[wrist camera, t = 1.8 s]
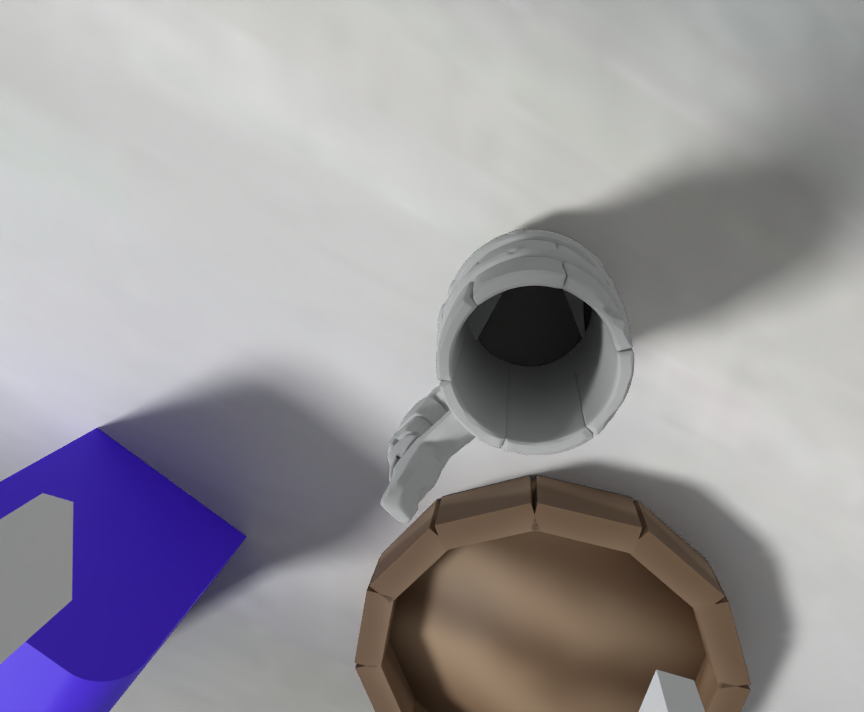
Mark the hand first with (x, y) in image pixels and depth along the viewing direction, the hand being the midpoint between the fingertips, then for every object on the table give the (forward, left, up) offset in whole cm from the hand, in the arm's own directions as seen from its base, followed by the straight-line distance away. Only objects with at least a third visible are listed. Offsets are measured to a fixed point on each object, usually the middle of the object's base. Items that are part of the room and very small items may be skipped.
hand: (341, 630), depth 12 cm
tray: (+14, +8, -18) cm, 24 cm away
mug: (-3, +2, -18) cm, 18 cm away
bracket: (+18, -19, -18) cm, 32 cm away
